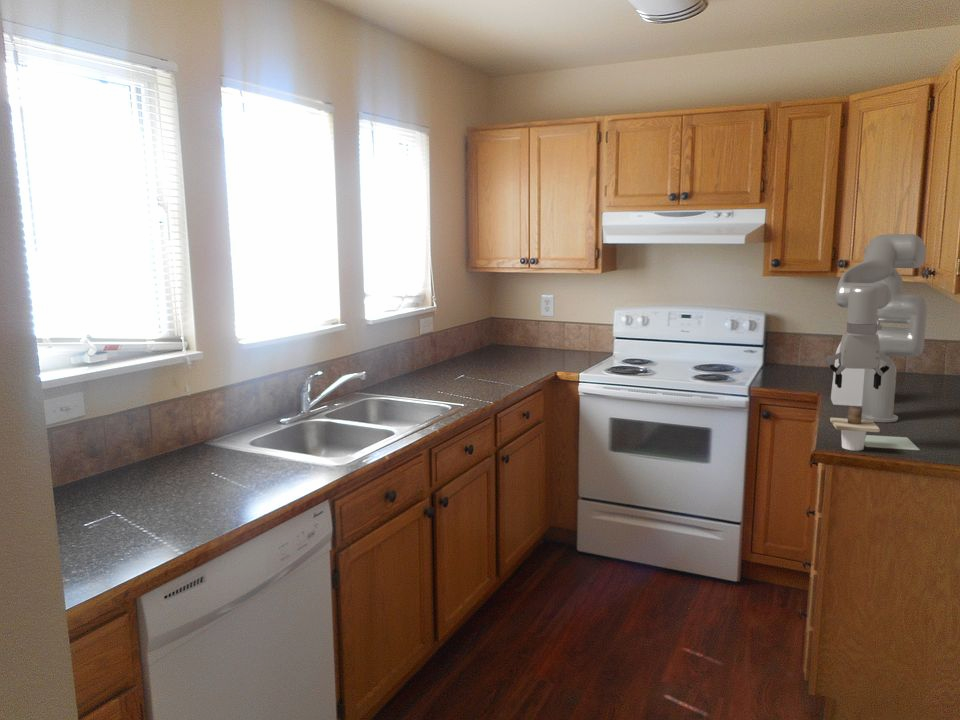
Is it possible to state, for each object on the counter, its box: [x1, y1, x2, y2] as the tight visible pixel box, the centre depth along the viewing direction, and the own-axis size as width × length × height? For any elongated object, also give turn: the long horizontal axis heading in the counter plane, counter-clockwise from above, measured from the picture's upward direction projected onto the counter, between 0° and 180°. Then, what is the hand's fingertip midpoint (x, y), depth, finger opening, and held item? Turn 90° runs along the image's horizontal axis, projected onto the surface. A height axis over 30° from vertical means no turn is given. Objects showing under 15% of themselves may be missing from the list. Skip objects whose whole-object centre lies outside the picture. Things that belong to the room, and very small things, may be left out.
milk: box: [830, 341, 865, 407], centre depth 268 cm, size 12×12×26 cm
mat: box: [864, 434, 921, 451], centre depth 215 cm, size 14×14×1 cm
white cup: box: [840, 430, 867, 451], centre depth 209 cm, size 7×7×7 cm
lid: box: [829, 406, 881, 433], centre depth 208 cm, size 11×11×6 cm
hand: (857, 387), depth 207 cm, fingers open, 9 cm apart
